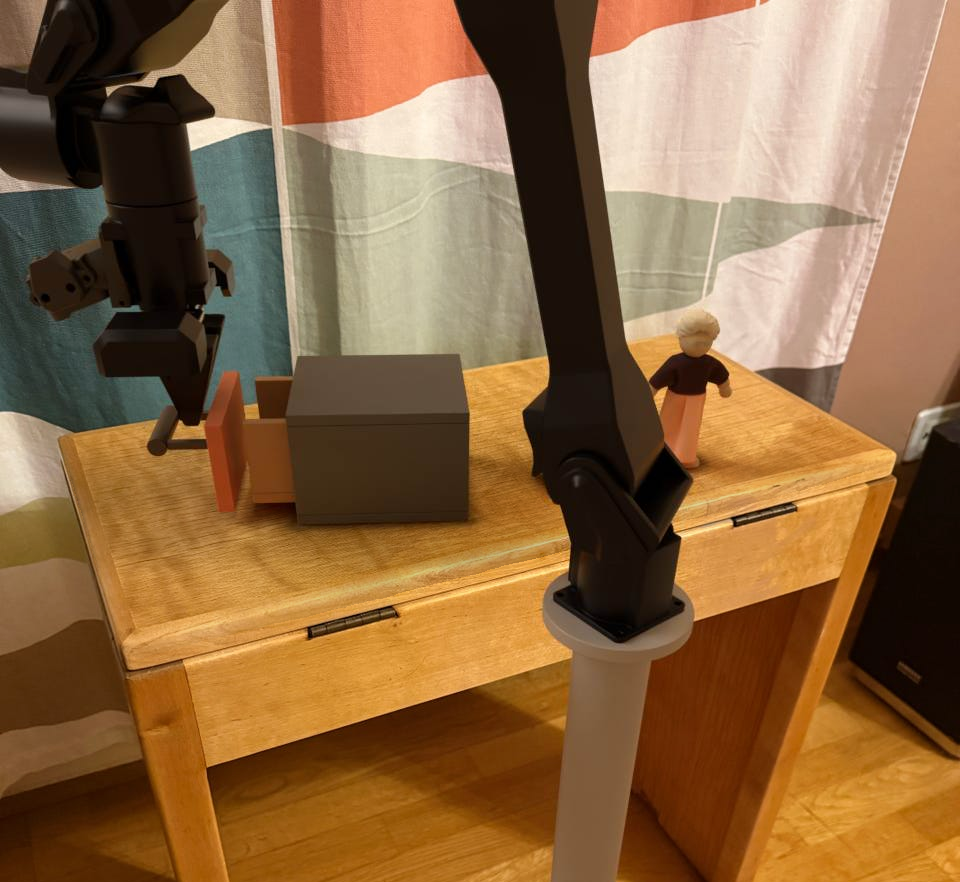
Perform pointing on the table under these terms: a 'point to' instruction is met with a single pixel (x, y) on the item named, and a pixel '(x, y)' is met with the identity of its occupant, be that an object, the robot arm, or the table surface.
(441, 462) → the cabinet
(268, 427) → the drawer
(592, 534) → the robot arm
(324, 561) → the table surface
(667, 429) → the grandmother figurine
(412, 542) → the table surface
